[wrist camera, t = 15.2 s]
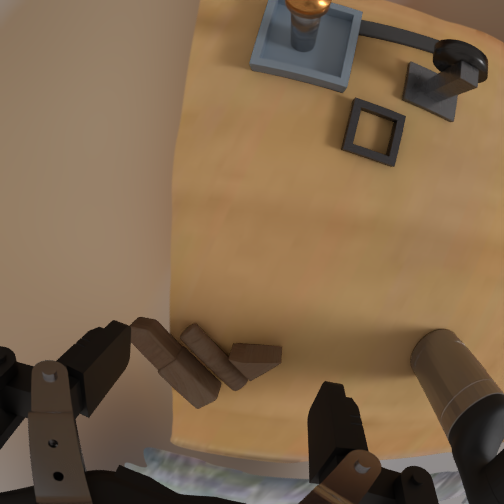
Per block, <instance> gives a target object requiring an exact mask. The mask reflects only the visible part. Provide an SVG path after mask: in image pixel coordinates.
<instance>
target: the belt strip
mask: <svg viewBox="0 0 504 504" xmlns="http://www.w3.org/2000/svg"><path fill="white" fill-rule="evenodd" d="M358 35H362V36H367V37H372V38H377V39H382V40H386V41H390V42H394V43H398V44H402V45H406V46H410V47H413V48H417V49H420V50H423V51H427V52H430V53H433V54H434V46H435V44H436V43H437V42H438V41H439V40H436V39H433V38H430V37H427V36H424V35H421V34H417V33H414V32H410V31H407V30H403V29H399V28H396V27H392V26H388V25H383V24H379V23H374V22H370V21H365V20H361V23H360V29H359V34H358Z"/></svg>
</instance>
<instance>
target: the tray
mask: <svg viewBox="0 0 504 504" xmlns="http://www.w3.org/2000/svg"><path fill="white" fill-rule="evenodd" d="M362 13H363V12H361V11H358V10H355V9H352V8H349V7H345V6H342V5H338V4H335V3H331V4H330V8H329V10H328V12H327V13H326V14H325V15H324V16H322V17H321V20H320V25H319V29H318V34H317V38H316V43H315V46H314V48H313V49H312V50H311V51H308V52H299V51H297V50H295V49H294V48H293V47H292V45H291V42H290V39H291V12H290V11H289V10H288V9H287V7H286V5H285V0H268V3H267V6H266V10H265V13H264V16H263V19H262V22H261V26H260V29H259V32H258V35H257V39H256V42H255V45H254V49H253V52H252V56H251V59H250V62H249V64H250V67H251V69H252V71H257V72H262V73H267V74H272V75H277V76H281V77H285V78H290V79H294V80H298V81H302V82H306V83H310V84H313V85H317V86H320V87H324V88H327V89H331V90H334V91H338V92H341V93H343V92H344V91H345V89H346V88H347V85H348V81H349V76H350V72H351V67H352V63H353V58H354V53H355V48H356V44H357V39H358V34H359V29H360V23H361V18H362Z"/></svg>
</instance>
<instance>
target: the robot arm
mask: <svg viewBox="0 0 504 504" xmlns="http://www.w3.org/2000/svg"><path fill="white" fill-rule="evenodd" d="M130 344H131V327H130V326H128V325H126V324H123V323H120V322H118V321H115V320H113V321H112V322H110V323H109V324H108V325H107V326H106V327H105V328H101V327H98V328H95V329H93V330H90V331H88V332H87V333H86V334H85V335H84V336H83V337H82V339H80V340H78V341H77V343H76V344H74V345H73V346H72V347H71V348H70V349H69V350H67V351H66V352H65V353H64V354H63V355H62V356H61V357H60V358H59V359H58V360H57V361H53V360H45V361H41V362H39V363H37V364H36V365H35V366H30V365H26V364H23V363H19V362H17V361H16V357H15V354H14V352H13V351H11V350H10V349H9V348H6V347H1V346H0V449H1V448H2V447H3V445H4V444H5V443H6V441H7V440H8V439H9V438H10V436H11V435H12V434H13V432H14V431H15V430H16V429H17V427H18V426H19V425H20V423H21V422H22V421H23V420H24V418H25V417H26V418H28V431H29V432H28V433H29V447H30V459H31V468H32V476H33V482H34V486H30V487H26V488H21V489H17V490H12V491H7V492H1V493H0V504H246V503H241V502H236V501H231V500H227V499H222V498H218V497H210V496H194V495H183V494H178V493H176V492H174V491H172V490H171V489H169V488H167V487H165V486H164V485H162V484H160V483H159V482H157V481H155V480H154V479H152V478H150V477H148V476H146V475H143V474H141V473H138V472H135V471H133V470H130V469H128V468H126V467H123V466H121V465H119V467H118V468H117V470H116V472H114V471H106V470H92V471H87V470H86V467H85V463H84V459H83V454H82V450H81V445H80V441H79V436H78V430H77V425H76V418H77V416H78V415H79V414H82V415H84V416H86V417H88V418H89V417H90V416H91V414H92V413H93V411H94V410H95V409H96V408H97V406H98V405H99V403H100V402H101V401H102V399H103V398H104V397H105V395H106V394H107V393H108V391H109V390H110V389H111V387H112V386H113V385H114V383H115V382H116V381H117V380H118V378H119V377H120V376H121V374H122V373H123V372H124V370H125V369H126V367H127V365H128V362H129V359H130ZM411 367H412V369H413V371H414V373H415V375H416V377H417V379H418V380H419V383H420V384H421V386H422V388H423V390H424V392H425V394H426V396H427V398H428V400H429V402H430V404H431V406H432V408H433V410H434V412H435V414H436V416H437V418H438V420H439V422H440V424H441V426H442V428H443V430H444V432H445V434H446V436H447V439H448V441H449V443H450V445H451V447H452V454H453V457H454V460H455V463H456V465H457V468H458V471H459V473H460V476H461V479H462V483H463V486H464V489H465V493H466V496H467V499H468V502H469V504H504V449H503V450H502V451H501V452H500V453H499V454H498V455H497V452H498V449H499V447H500V445H501V443H502V441H503V439H504V393H503V392H502V391H501V389H500V388H499V387H498V385H497V384H496V383H495V382H494V380H493V379H492V378H491V377H490V375H489V374H488V373H487V371H486V370H485V368H484V367H483V366H482V365H481V363H480V362H479V361H478V360H477V359H476V357H475V356H474V355H473V354H472V353H471V352H470V350H469V349H468V348H467V347H466V346H465V344H464V343H463V342H462V341H461V340H460V339H459V338H458V337H457V336H456V335H455V334H454V333H453V332H452V331H450V330H446V329H440V330H436V331H434V332H431V333H429V334H428V335H426V336H425V337H424V338H423V339H422V340H421V341H420V342H419V343H418V344H417V345H416V347H415V349H414V350H413V353H412V356H411ZM308 447H309V483H316V484H319V485H317V486H316V487H315V488H314V489H313V490H312V491H311V492H310V493H309V494H308V495H307V496H306V497H305V498H304V499H303V500H302V501H300V502H299V503H298V504H439V503H438V499H437V495H436V491H435V487H434V484H433V480H432V477H431V475H430V474H429V473H428V472H427V471H426V470H425V469H423V468H421V467H418V466H410V467H407V468H405V469H404V470H403V471H402V473H399V472H395V471H392V470H388V469H385V468H383V467H381V463H380V461H379V459H378V458H377V457H376V456H375V455H374V454H372V453H370V452H369V451H368V447H367V442H366V438H365V433H364V429H363V426H362V421H361V418H360V412H359V408H358V406H357V405H356V403H355V402H354V400H353V399H352V398H349V397H346V395H345V391H344V386H343V385H342V384H338V383H332V382H327V381H325V382H324V383H323V384H322V386H321V388H320V390H319V392H318V394H317V396H316V398H315V400H314V402H313V404H312V406H311V408H310V411H309V414H308ZM496 455H497V456H496Z"/></svg>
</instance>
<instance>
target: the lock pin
mask: <svg viewBox="0 0 504 504" xmlns="http://www.w3.org/2000/svg"><path fill="white" fill-rule="evenodd" d="M330 4H331V0H285V5H286V7H287V9H288V10H289V11H290V12H291V39H290V42H291V45H292V47H293V48H294V49H295V50H297V51H299V52H308V51H311V50H312V49H313V48H314V46H315V43H316V38H317V34H318V29H319V25H320V20H321V17H322V16H324V15H325V14H326V13H327V12H328V10H329V8H330Z"/></svg>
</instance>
